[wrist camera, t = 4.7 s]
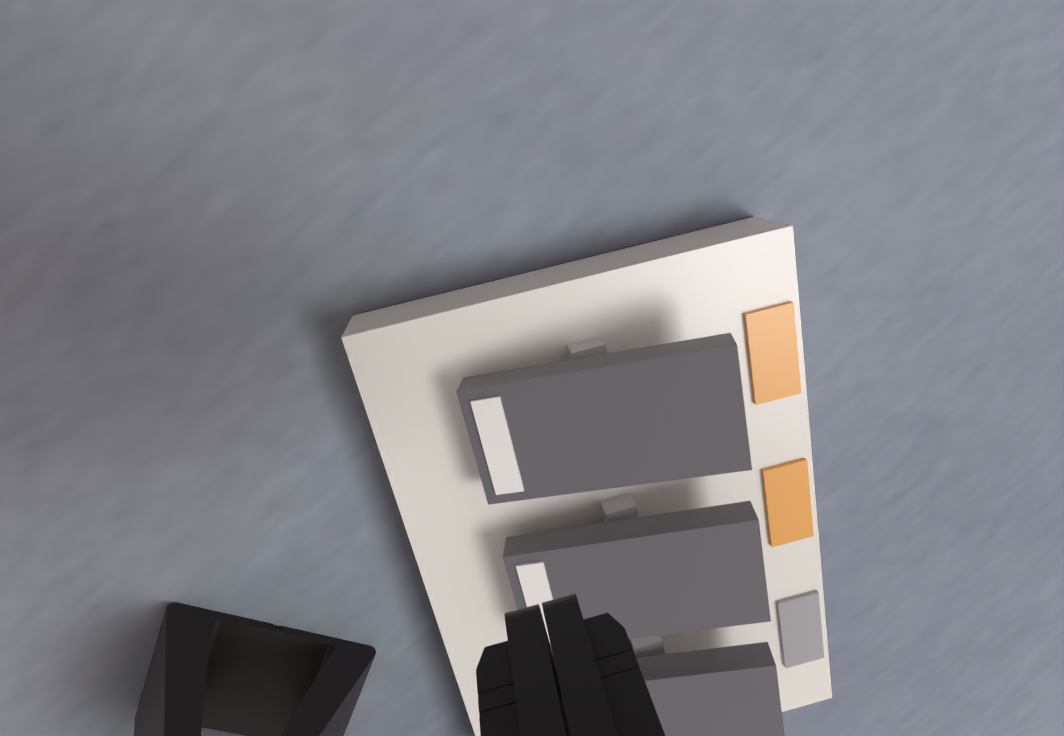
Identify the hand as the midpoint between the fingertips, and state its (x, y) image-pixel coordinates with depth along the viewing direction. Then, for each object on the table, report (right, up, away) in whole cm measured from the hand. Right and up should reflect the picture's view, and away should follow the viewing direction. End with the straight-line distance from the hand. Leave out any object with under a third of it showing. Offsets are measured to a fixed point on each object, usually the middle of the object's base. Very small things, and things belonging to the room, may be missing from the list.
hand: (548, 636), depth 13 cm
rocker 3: (+5, -8, +14) cm, 17 cm away
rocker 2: (+4, -2, +12) cm, 12 cm away
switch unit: (+3, -1, +16) cm, 16 cm away
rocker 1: (+2, +4, +9) cm, 10 cm away
